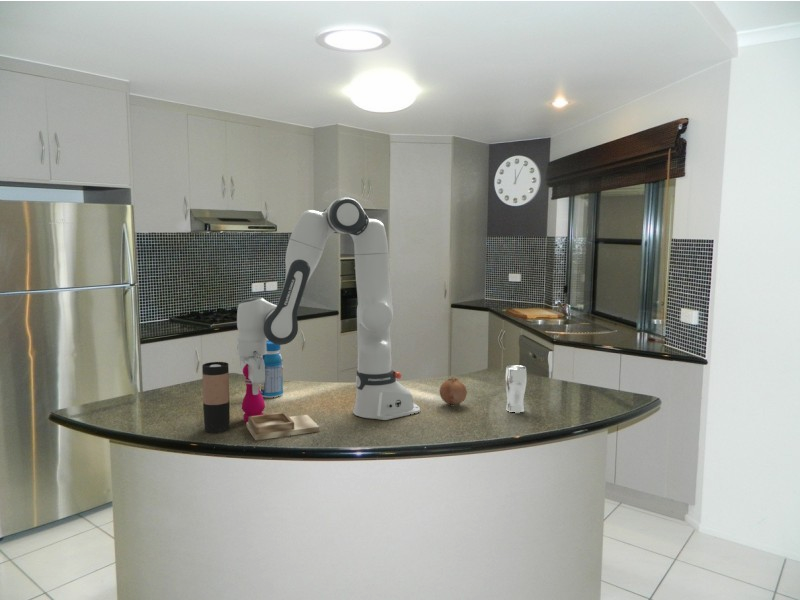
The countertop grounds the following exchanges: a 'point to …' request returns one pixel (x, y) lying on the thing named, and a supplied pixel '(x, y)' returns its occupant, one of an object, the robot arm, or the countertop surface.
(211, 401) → the travel mug
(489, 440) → the countertop surface
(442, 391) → the onion
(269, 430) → the mill holder
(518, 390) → the beer glass
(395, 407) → the robot arm
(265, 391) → the beverage bottle
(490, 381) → the countertop surface
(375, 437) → the countertop surface
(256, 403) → the pepper mill
